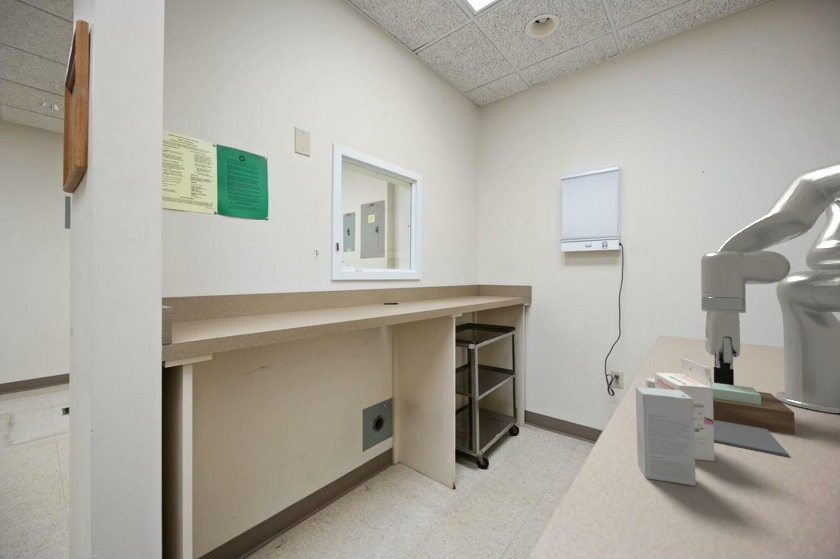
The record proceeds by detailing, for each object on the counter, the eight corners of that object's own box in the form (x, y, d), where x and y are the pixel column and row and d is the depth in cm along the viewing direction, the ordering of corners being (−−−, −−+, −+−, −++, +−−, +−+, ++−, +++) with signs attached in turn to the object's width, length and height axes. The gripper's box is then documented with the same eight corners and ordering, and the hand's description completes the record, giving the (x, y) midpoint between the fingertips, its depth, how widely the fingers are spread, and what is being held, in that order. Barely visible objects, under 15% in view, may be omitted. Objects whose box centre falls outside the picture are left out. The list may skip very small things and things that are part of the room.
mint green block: (704, 390, 75) (703, 381, 75) (752, 397, 71) (752, 387, 71) (708, 397, 70) (708, 388, 70) (761, 405, 66) (760, 395, 66)
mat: (680, 415, 70) (680, 413, 70) (766, 430, 63) (766, 428, 63) (686, 436, 61) (686, 434, 61) (789, 457, 53) (789, 454, 53)
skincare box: (683, 471, 49) (681, 389, 49) (696, 487, 45) (695, 398, 45) (635, 463, 51) (634, 385, 51) (644, 478, 47) (643, 393, 47)
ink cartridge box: (653, 435, 61) (652, 355, 61) (684, 438, 60) (683, 356, 60) (680, 459, 52) (678, 366, 53) (716, 462, 51) (714, 367, 52)
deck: (679, 397, 82) (679, 381, 82) (770, 411, 73) (770, 393, 73) (685, 415, 71) (685, 396, 71) (794, 434, 62) (794, 412, 62)
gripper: (697, 303, 84) (698, 376, 84) (706, 305, 72) (706, 390, 72) (737, 305, 80) (738, 381, 80) (754, 307, 68) (755, 397, 67)
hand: (723, 385), depth 76 cm, fingers closed
